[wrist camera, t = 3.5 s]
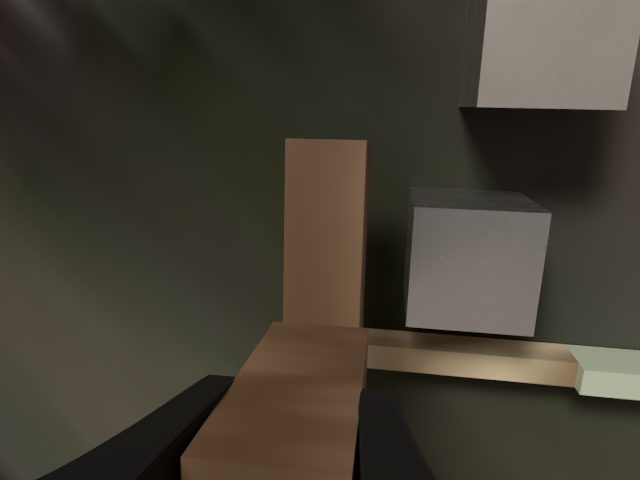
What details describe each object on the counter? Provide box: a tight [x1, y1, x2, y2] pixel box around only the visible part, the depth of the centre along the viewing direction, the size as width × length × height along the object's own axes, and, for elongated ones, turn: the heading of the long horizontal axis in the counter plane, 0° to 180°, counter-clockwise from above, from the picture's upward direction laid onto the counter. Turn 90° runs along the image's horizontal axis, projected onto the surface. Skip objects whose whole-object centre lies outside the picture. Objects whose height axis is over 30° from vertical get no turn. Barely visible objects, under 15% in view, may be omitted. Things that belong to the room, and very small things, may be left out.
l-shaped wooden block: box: [181, 138, 371, 480], centre depth 12 cm, size 2×12×9 cm, turn 179°
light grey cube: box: [459, 0, 640, 110], centre depth 15 cm, size 4×4×4 cm
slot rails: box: [367, 328, 579, 387], centre depth 18 cm, size 11×17×2 cm, turn 179°
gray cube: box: [403, 187, 552, 337], centre depth 17 cm, size 4×4×4 cm
